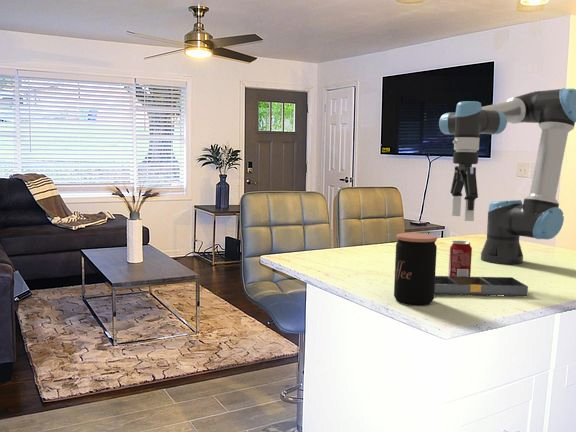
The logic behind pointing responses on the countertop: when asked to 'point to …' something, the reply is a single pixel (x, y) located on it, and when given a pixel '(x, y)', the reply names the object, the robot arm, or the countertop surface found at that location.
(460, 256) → the soda can
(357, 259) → the countertop surface
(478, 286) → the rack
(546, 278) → the countertop surface
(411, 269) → the coffee jar
